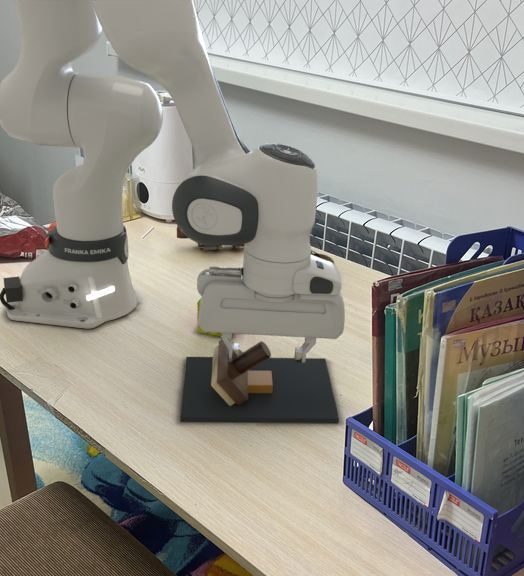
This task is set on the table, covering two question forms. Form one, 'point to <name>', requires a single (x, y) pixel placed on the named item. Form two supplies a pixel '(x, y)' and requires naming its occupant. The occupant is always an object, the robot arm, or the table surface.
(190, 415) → the mat
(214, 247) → the toy
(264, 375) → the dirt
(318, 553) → the table surface
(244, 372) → the brush
